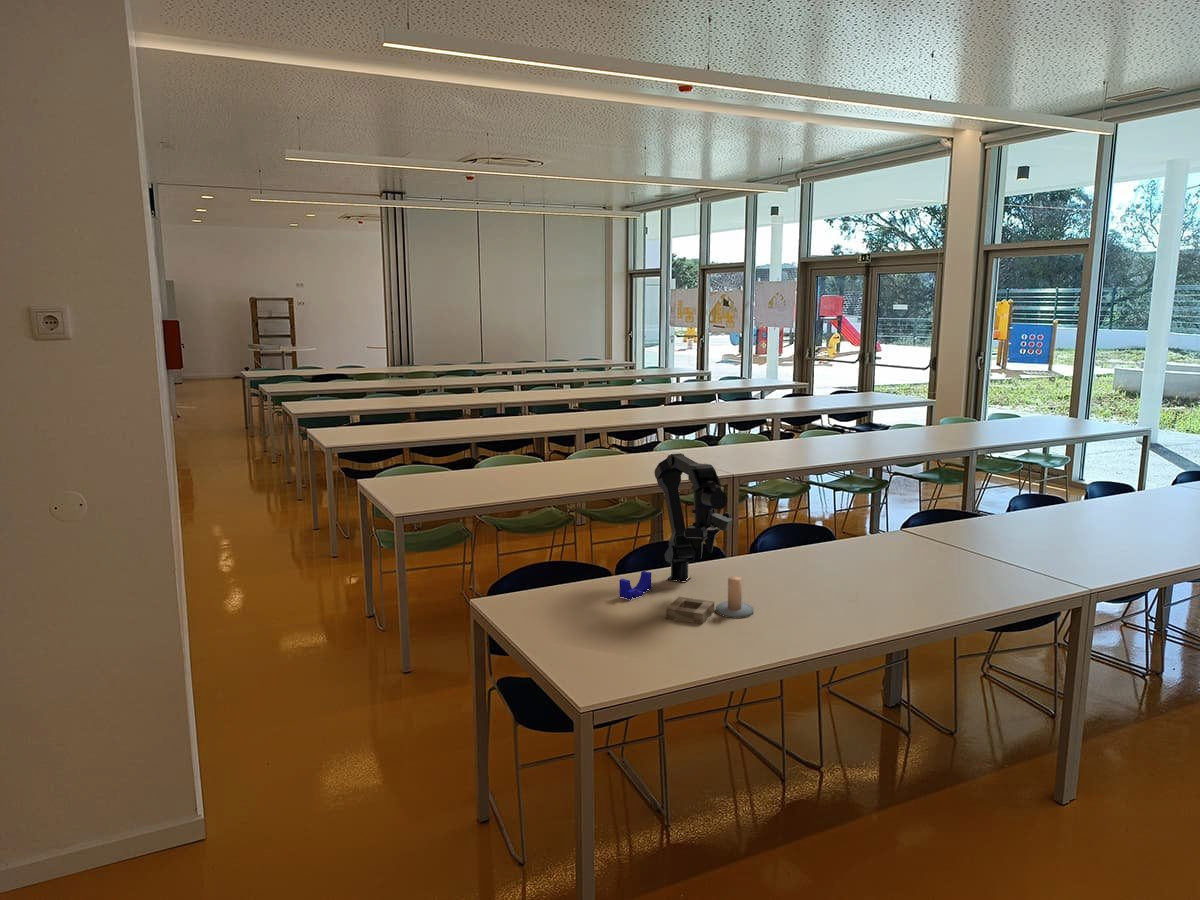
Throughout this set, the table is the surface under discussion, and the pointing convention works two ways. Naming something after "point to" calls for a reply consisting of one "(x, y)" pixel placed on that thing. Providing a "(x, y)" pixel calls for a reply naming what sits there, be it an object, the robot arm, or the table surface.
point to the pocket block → (690, 610)
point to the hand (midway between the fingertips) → (705, 555)
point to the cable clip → (640, 587)
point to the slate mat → (743, 612)
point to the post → (734, 593)
